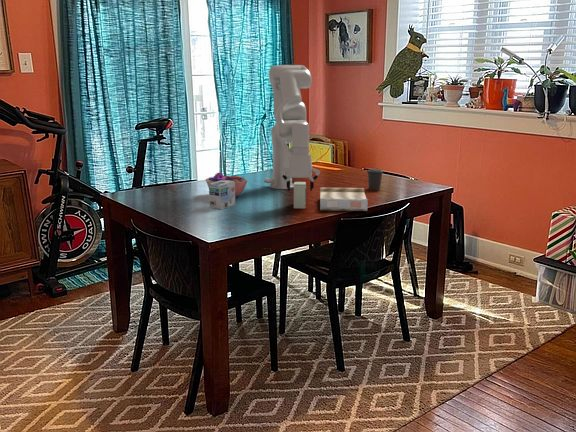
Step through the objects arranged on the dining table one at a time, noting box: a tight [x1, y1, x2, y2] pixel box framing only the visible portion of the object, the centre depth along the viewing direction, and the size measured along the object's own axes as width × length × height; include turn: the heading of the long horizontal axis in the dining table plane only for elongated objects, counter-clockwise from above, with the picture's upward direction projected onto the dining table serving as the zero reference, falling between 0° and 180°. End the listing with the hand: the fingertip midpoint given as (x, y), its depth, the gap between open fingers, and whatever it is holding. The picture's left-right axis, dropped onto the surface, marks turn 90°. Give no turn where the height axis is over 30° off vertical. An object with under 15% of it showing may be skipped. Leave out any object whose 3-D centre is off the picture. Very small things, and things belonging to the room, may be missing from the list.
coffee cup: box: [366, 168, 384, 191], centre depth 286 cm, size 8×8×10 cm
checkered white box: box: [319, 187, 369, 212], centre depth 255 cm, size 20×22×6 cm
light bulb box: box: [208, 180, 236, 210], centre depth 253 cm, size 11×7×11 cm, turn 148°
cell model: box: [205, 171, 248, 197], centre depth 270 cm, size 17×20×11 cm
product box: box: [293, 181, 307, 209], centre depth 253 cm, size 5×8×10 cm, turn 177°
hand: (300, 190), depth 252 cm, fingers open, 9 cm apart
